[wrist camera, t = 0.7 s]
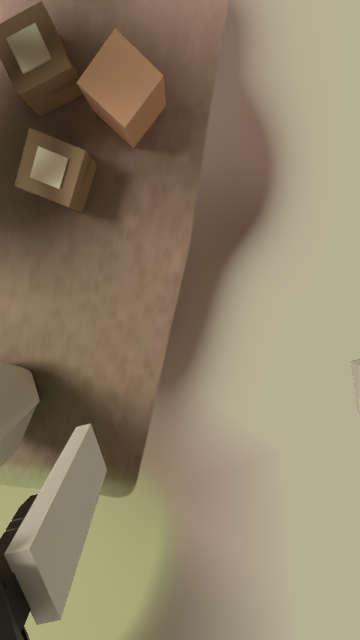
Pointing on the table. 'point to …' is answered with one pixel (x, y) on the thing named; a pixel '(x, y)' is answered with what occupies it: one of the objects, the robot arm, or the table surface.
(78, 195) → the walnut block
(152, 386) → the table surface
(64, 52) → the walnut block
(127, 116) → the plain block
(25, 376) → the vase
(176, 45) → the table surface
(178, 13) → the table surface
